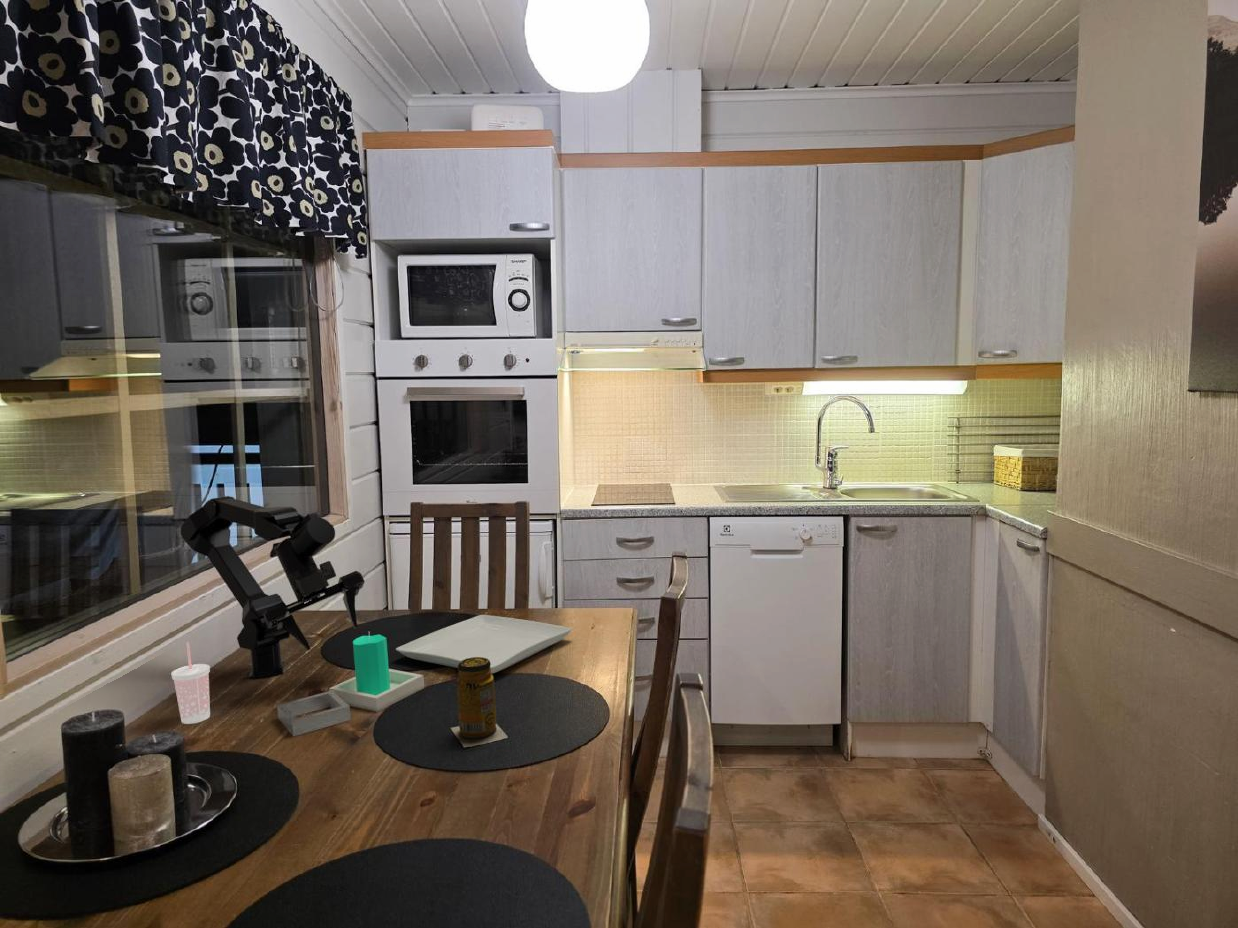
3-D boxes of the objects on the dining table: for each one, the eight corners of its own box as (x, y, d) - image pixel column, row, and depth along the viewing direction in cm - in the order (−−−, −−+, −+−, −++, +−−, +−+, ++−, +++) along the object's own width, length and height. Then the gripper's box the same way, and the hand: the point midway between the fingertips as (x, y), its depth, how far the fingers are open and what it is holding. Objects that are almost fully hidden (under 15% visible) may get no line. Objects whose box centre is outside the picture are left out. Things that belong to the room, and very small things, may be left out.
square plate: (575, 642, 177) (574, 625, 177) (492, 686, 154) (491, 666, 154) (482, 627, 192) (481, 611, 191) (394, 664, 169) (392, 646, 168)
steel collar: (278, 718, 142) (277, 704, 142) (333, 703, 148) (332, 690, 148) (293, 736, 135) (292, 722, 134) (350, 719, 140) (349, 706, 140)
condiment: (492, 719, 138) (488, 651, 137) (508, 738, 130) (503, 666, 129) (450, 729, 135) (445, 660, 133) (464, 749, 127) (459, 676, 126)
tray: (330, 701, 149) (329, 688, 149) (378, 678, 159) (377, 666, 159) (377, 711, 143) (376, 698, 143) (424, 687, 154) (423, 675, 153)
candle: (389, 697, 148) (384, 634, 147) (355, 701, 147) (350, 637, 146) (391, 685, 154) (386, 624, 153) (359, 689, 153) (353, 628, 152)
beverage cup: (208, 708, 148) (200, 634, 147) (219, 717, 144) (212, 641, 143) (171, 719, 144) (163, 643, 143) (182, 728, 140) (174, 650, 138)
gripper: (250, 575, 146) (285, 653, 143) (349, 535, 155) (384, 608, 152) (251, 590, 155) (283, 664, 152) (344, 552, 164) (377, 620, 162)
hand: (333, 638), depth 154 cm, fingers open, 9 cm apart
